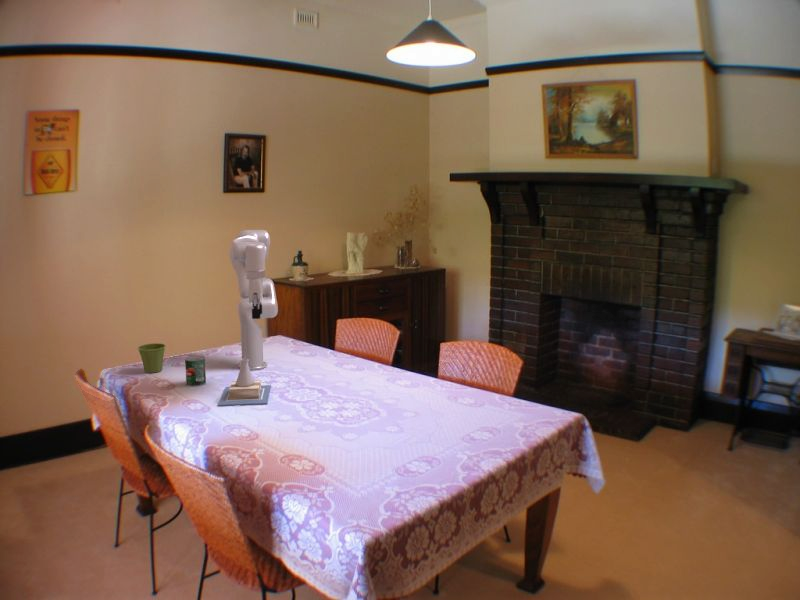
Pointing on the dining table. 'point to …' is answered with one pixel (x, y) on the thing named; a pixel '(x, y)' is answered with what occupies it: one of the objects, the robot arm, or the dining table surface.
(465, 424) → the dining table surface
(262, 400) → the board
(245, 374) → the flask
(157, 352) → the plant pot
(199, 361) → the canned tomato
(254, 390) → the birch plinth
